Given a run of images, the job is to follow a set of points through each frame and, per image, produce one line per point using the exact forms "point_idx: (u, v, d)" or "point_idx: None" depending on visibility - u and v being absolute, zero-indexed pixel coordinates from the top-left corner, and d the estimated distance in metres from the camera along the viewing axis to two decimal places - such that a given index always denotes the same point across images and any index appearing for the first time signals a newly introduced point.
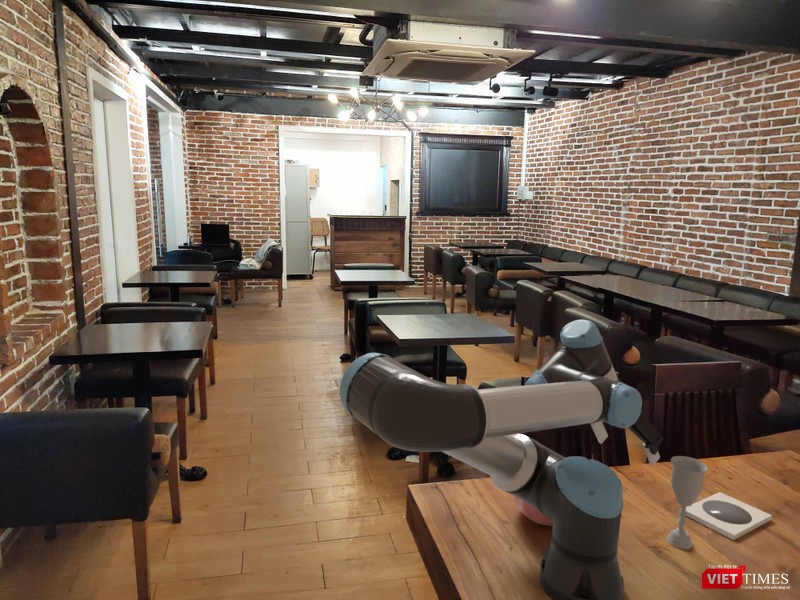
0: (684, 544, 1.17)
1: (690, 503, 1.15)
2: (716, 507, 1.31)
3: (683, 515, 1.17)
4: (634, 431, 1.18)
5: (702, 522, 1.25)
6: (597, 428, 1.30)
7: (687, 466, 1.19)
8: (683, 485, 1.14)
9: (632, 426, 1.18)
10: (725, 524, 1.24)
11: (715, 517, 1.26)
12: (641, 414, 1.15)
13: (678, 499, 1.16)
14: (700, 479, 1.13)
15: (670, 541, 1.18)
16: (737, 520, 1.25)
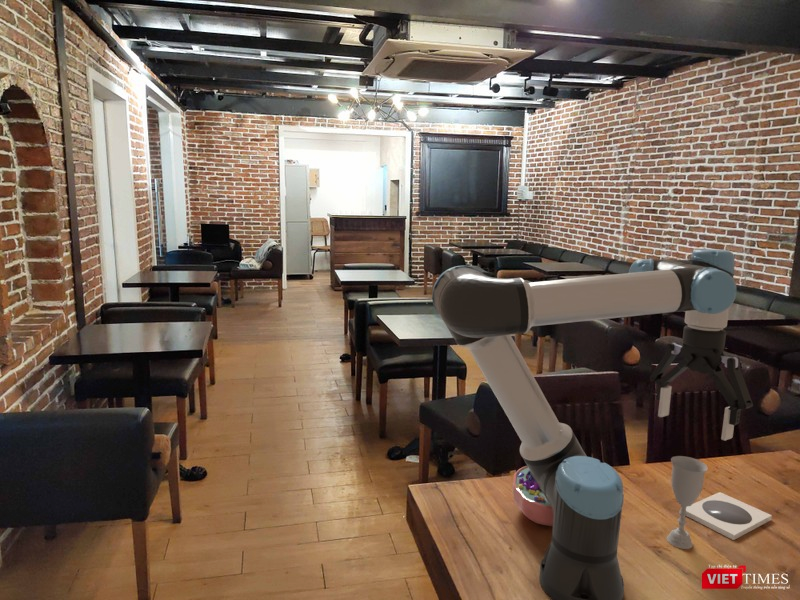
0: (684, 544, 1.17)
1: (690, 503, 1.15)
2: (716, 507, 1.31)
3: (683, 515, 1.17)
4: (723, 389, 1.07)
5: (702, 522, 1.25)
6: (665, 396, 1.19)
7: (687, 466, 1.19)
8: (683, 485, 1.14)
9: (722, 383, 1.08)
10: (725, 524, 1.24)
11: (715, 517, 1.26)
12: (739, 370, 1.06)
13: (678, 499, 1.16)
14: (700, 479, 1.13)
15: (670, 541, 1.18)
16: (737, 520, 1.25)
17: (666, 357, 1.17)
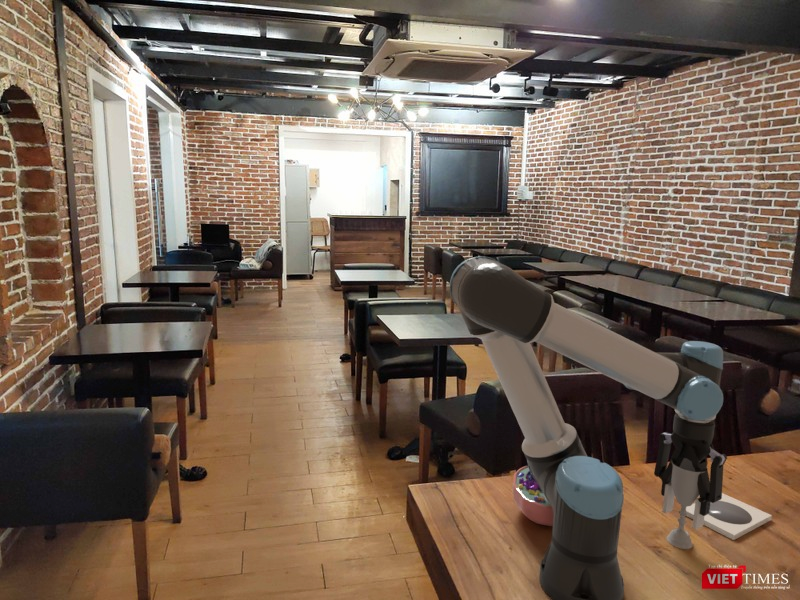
0: (684, 544, 1.17)
1: (690, 503, 1.15)
2: (716, 507, 1.31)
3: (683, 515, 1.17)
4: (700, 481, 1.13)
5: None
6: (669, 493, 1.19)
7: (687, 466, 1.19)
8: (683, 485, 1.14)
9: (702, 475, 1.12)
10: (725, 524, 1.24)
11: (715, 517, 1.26)
12: (722, 467, 1.11)
13: (678, 499, 1.16)
14: None
15: (670, 541, 1.18)
16: (737, 520, 1.25)
17: (661, 448, 1.20)
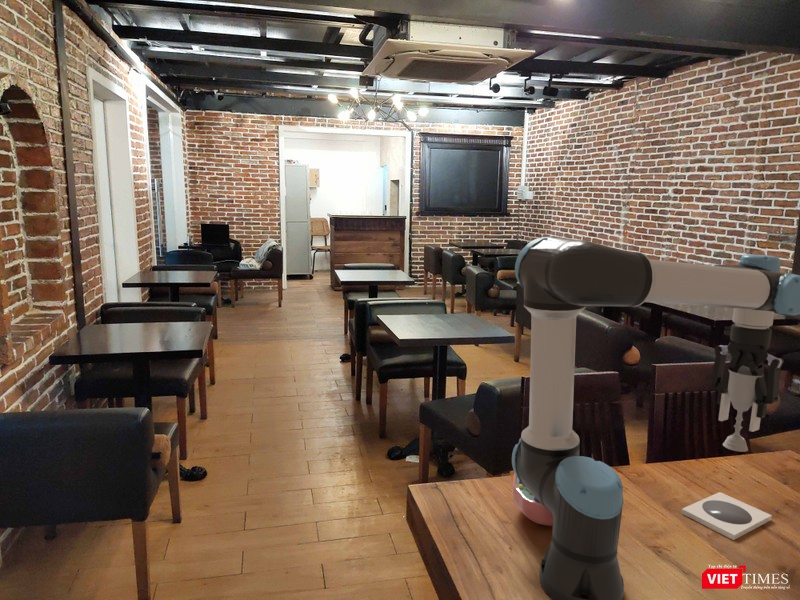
0: (741, 447, 1.24)
1: (747, 408, 1.22)
2: (716, 507, 1.31)
3: (739, 420, 1.24)
4: (757, 385, 1.20)
5: (702, 522, 1.25)
6: (725, 401, 1.26)
7: None
8: (741, 390, 1.21)
9: (759, 380, 1.20)
10: (725, 524, 1.24)
11: (715, 517, 1.26)
12: (779, 370, 1.18)
13: (735, 405, 1.23)
14: None
15: (727, 446, 1.25)
16: (737, 520, 1.25)
17: (718, 359, 1.27)
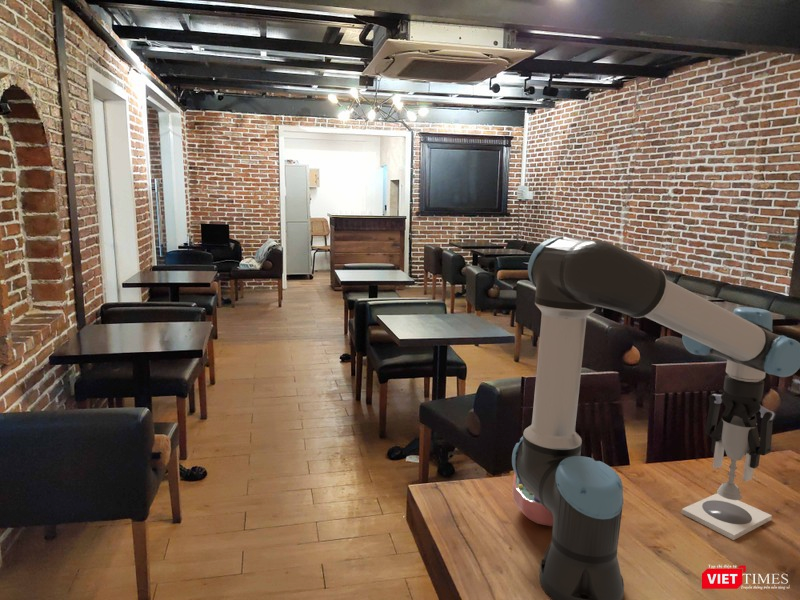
0: (735, 496, 1.26)
1: (740, 457, 1.24)
2: (716, 507, 1.31)
3: (733, 469, 1.26)
4: (750, 436, 1.22)
5: (702, 522, 1.25)
6: (719, 450, 1.28)
7: (736, 424, 1.28)
8: (734, 440, 1.23)
9: (752, 431, 1.22)
10: (725, 524, 1.24)
11: (715, 517, 1.26)
12: (771, 422, 1.20)
13: (729, 454, 1.26)
14: None
15: (721, 493, 1.27)
16: (737, 520, 1.25)
17: (711, 408, 1.29)
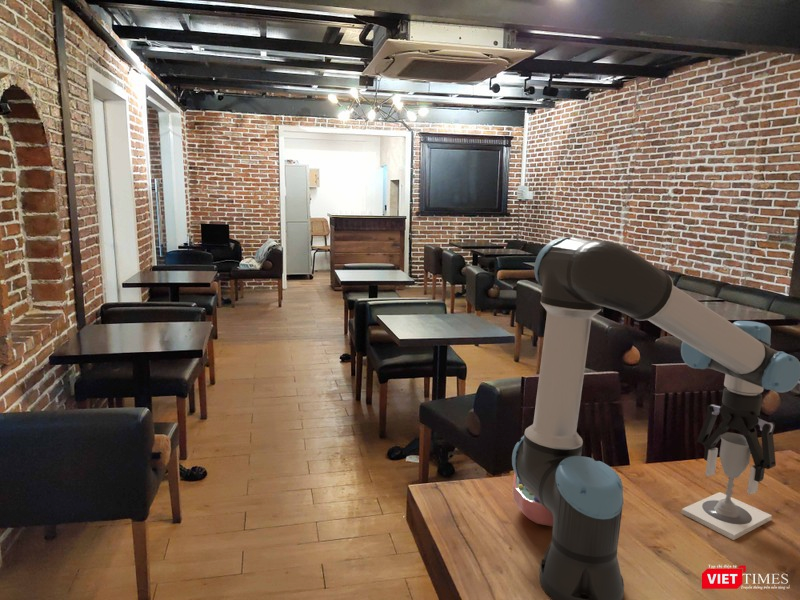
0: (732, 513, 1.26)
1: (738, 475, 1.25)
2: None
3: (730, 486, 1.27)
4: (753, 449, 1.21)
5: (702, 522, 1.25)
6: (712, 457, 1.30)
7: (734, 442, 1.29)
8: (732, 458, 1.24)
9: (754, 444, 1.21)
10: (725, 524, 1.24)
11: (715, 517, 1.26)
12: (772, 434, 1.20)
13: (726, 471, 1.26)
14: (748, 452, 1.23)
15: (718, 511, 1.28)
16: (737, 520, 1.25)
17: (708, 418, 1.30)
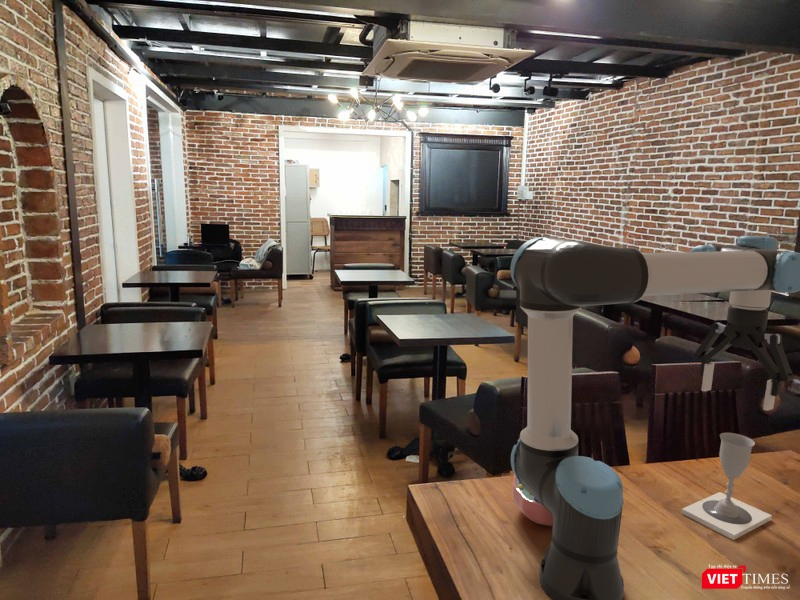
0: (732, 513, 1.26)
1: (738, 475, 1.25)
2: None
3: (730, 487, 1.27)
4: (765, 363, 1.17)
5: (702, 522, 1.25)
6: (708, 372, 1.29)
7: (734, 442, 1.28)
8: (732, 459, 1.24)
9: (765, 358, 1.17)
10: (725, 524, 1.24)
11: (715, 517, 1.26)
12: (781, 346, 1.16)
13: (726, 472, 1.26)
14: (748, 453, 1.23)
15: (718, 511, 1.28)
16: (737, 520, 1.25)
17: (710, 336, 1.27)
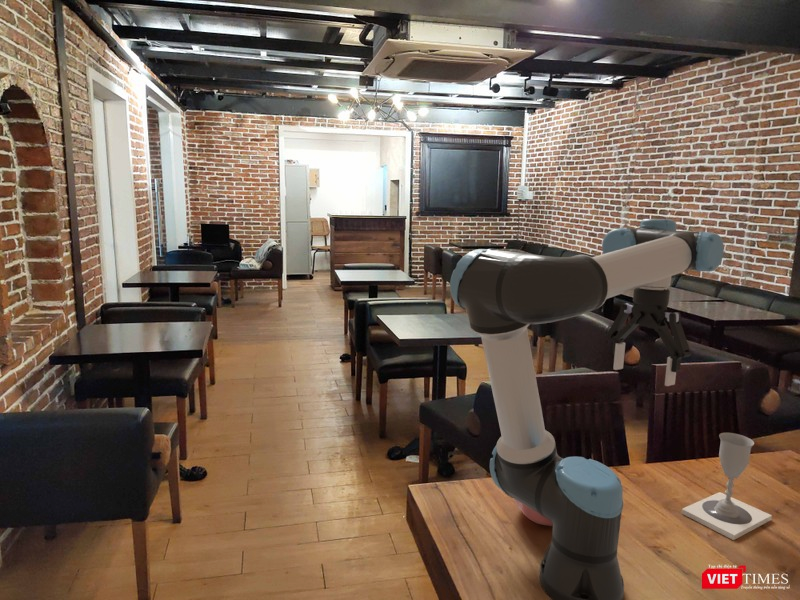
0: (732, 513, 1.26)
1: (737, 475, 1.25)
2: None
3: (730, 487, 1.27)
4: (666, 341, 1.22)
5: (702, 522, 1.25)
6: (619, 351, 1.34)
7: (734, 442, 1.29)
8: (732, 459, 1.24)
9: (666, 335, 1.23)
10: (725, 524, 1.24)
11: (715, 517, 1.26)
12: (680, 324, 1.21)
13: (726, 472, 1.26)
14: (747, 453, 1.23)
15: (718, 511, 1.28)
16: (737, 520, 1.25)
17: (620, 316, 1.32)
